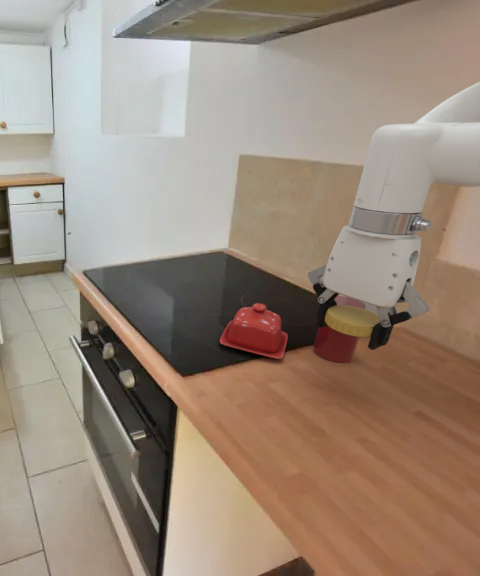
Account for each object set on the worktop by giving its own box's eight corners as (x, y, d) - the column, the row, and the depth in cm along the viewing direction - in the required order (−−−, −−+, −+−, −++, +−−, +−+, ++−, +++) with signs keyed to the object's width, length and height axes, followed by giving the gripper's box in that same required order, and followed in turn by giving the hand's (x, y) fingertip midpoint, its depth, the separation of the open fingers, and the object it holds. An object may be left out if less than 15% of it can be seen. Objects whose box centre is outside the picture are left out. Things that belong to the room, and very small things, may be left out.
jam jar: (325, 340, 76) (338, 292, 72) (360, 356, 71) (376, 305, 67) (305, 349, 73) (317, 299, 69) (340, 366, 68) (356, 313, 64)
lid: (363, 342, 53) (367, 331, 53) (314, 321, 59) (317, 311, 58) (389, 329, 57) (392, 318, 56) (340, 311, 62) (343, 301, 62)
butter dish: (281, 366, 68) (291, 323, 65) (216, 349, 73) (222, 309, 70) (287, 338, 77) (296, 299, 74) (229, 324, 82) (235, 288, 79)
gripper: (475, 232, 47) (426, 355, 53) (333, 208, 61) (309, 309, 67) (450, 240, 43) (400, 371, 50) (305, 213, 57) (282, 318, 64)
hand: (348, 334), depth 59 cm, fingers closed on lid, 7 cm apart
